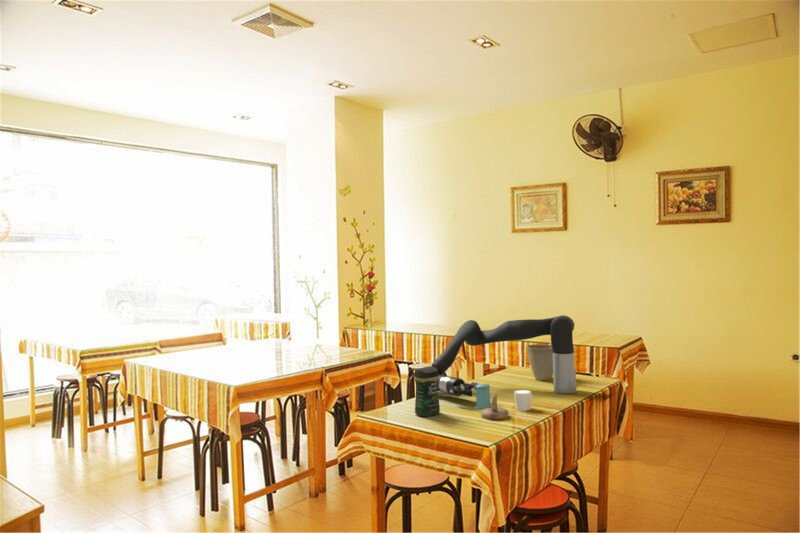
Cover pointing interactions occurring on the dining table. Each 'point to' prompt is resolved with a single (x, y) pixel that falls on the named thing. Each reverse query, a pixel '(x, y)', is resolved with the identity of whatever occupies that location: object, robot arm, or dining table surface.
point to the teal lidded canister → (483, 396)
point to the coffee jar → (426, 391)
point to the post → (494, 411)
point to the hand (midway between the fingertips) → (479, 391)
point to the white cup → (523, 400)
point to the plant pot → (541, 361)
